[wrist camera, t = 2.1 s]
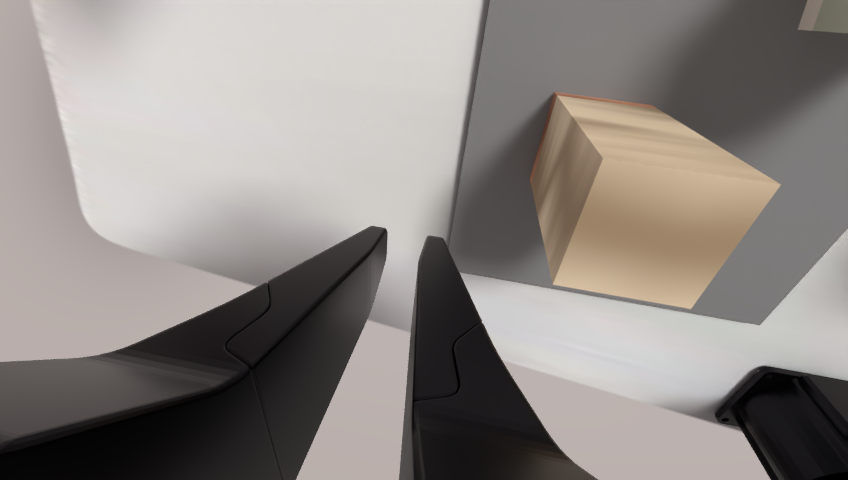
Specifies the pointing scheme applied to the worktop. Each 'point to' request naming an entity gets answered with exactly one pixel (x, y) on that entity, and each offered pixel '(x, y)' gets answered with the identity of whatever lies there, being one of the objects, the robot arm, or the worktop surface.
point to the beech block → (638, 201)
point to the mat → (680, 99)
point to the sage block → (825, 16)
